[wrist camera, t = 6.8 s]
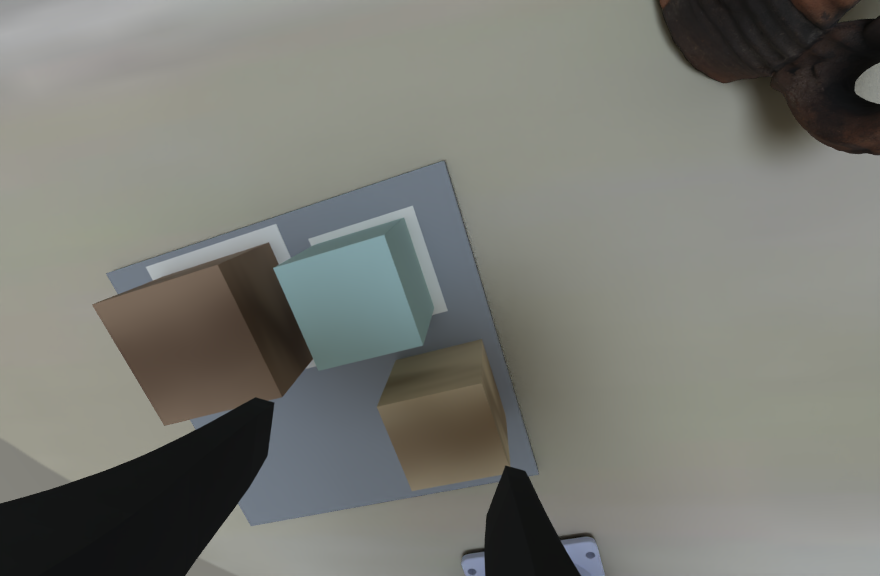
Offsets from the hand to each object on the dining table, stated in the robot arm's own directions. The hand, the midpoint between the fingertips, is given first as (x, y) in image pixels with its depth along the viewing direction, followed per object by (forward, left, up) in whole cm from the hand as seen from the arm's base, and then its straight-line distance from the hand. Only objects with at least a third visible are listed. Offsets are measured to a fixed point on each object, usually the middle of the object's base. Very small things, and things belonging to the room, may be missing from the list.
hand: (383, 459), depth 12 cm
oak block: (-3, -1, -8) cm, 9 cm away
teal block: (+4, +1, -8) cm, 9 cm away
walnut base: (+4, +8, -8) cm, 12 cm away
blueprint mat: (-1, +5, -9) cm, 10 cm away
